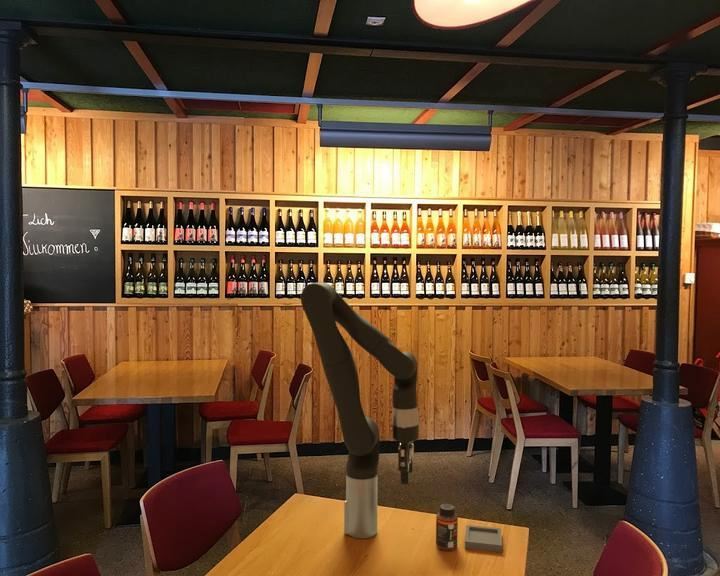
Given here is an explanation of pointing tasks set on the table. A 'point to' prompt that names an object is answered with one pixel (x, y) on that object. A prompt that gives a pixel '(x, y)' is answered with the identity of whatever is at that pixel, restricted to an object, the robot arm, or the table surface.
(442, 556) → the table surface
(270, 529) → the table surface
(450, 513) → the supplement bottle
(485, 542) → the gray square tray
